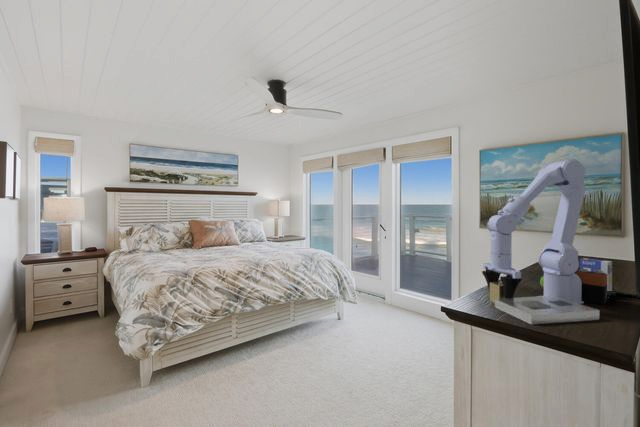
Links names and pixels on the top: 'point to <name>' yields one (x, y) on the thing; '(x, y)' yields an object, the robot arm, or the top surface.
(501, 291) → the tan rectangular block
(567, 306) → the rail plate
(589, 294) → the battery
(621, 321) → the top surface
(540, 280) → the snail figurine
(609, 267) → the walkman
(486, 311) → the top surface
